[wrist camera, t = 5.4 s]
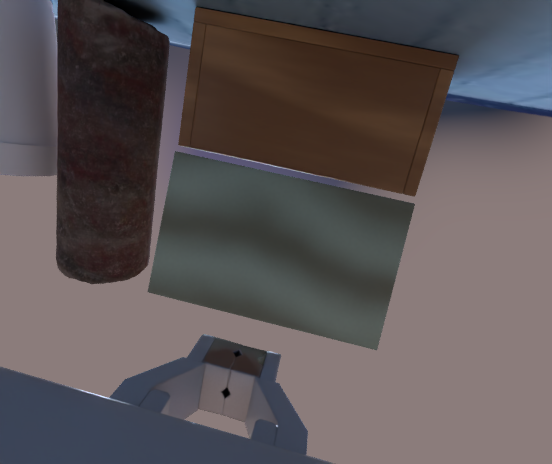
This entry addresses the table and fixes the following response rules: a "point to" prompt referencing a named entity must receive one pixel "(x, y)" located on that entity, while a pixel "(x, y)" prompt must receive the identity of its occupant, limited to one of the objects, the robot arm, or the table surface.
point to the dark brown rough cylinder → (107, 139)
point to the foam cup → (28, 88)
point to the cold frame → (313, 100)
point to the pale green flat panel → (279, 249)
